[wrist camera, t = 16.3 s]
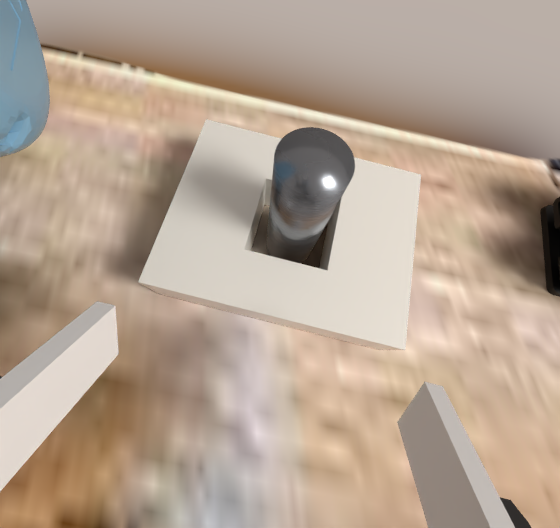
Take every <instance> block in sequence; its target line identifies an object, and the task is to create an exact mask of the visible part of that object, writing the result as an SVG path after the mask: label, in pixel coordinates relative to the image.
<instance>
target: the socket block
mask: <svg viewBox="0 0 560 528" xmlns="http://www.w3.org/2000/svg"><path fill="white" fill-rule="evenodd" d="M280 141H281V138H277V137H273V136H269V135H265V134H261V133H258V132H254V131H250V130H246V129H242V128H238V127H234V126H230V125H227V124H223V123H219V122H215V121H211V120H207V119H206V121H205V124H204V126H203V128H202V131H201V133H200V136H199V138H198V140H197V143H196V145H195V147H194V150H193V152H192V155H191V157H190V159H189V162H188V164H187V167H186V169H185V171H184V174H183V176H182V178H181V181H180V183H179V186H178V188H177V190H176V193H175V195H174V198H173V200H172V202H171V205H170V207H169V210H168V212H167V214H166V217H165V219H164V221H163V224H162V226H161V229H160V231H159V233H158V236H157V238H156V241H155V243H154V245H153V248H152V250H151V252H150V255H149V257H148V260H147V262H146V264H145V267H144V269H143V272H142V274H141V276H140V279H139V281H138V282H139V283H141V284H142V285H144V286H146V287H148V288H149V289H151V290H153V291H155V292H156V293H158V294H161V295H165V296H169V297H173V298H177V299H181V300H185V301H188V302H192V303H196V304H200V305H204V306H208V307H212V308H216V309H220V310H224V311H228V312H232V313H236V314H240V315H244V316H248V317H251V318H255V319H259V320H263V321H267V322H271V323H275V324H279V325H283V326H287V327H291V328H295V329H299V330H303V331H307V332H311V333H314V334H318V335H322V336H326V337H330V338H334V339H338V340H342V341H346V342H350V343H354V344H358V345H362V346H366V347H370V348H373V349H377V350H405V347H406V336H407V325H408V314H409V303H410V291H411V280H412V269H413V258H414V247H415V235H416V224H417V213H418V202H419V191H420V180H421V174H417V173H413V172H409V171H405V170H401V169H397V168H393V167H390V166H386V165H382V164H378V163H374V162H370V161H366V160H362V159H358V158H355V157H354V160H355V171H354V175H353V177H352V179H351V181H350V183H349V185H348V186H347V188H346V190H345V192H344V194H343V195H342V197H341V199H340V201H339V203H338V204H337V206H336V208H335V210H334V212H333V213H332V215H331V217H330V219H329V221H328V226H327V231H326V236H325V241H324V246H323V251H322V255H321V260H320V265H319V268H316V267H312V266H308V265H304V264H300V263H296V262H292V261H288V260H284V259H280V258H276V257H273V256H269V255H265V254H261V253H257V252H253V251H251V248H252V245H253V242H254V238H255V235H256V231H257V228H258V225H259V221H260V218H261V214H262V211H263V208H264V205H267V206H270V196H271V186H272V175H273V164H274V154H275V150H276V147H277V145H278V143H279V142H280Z"/></svg>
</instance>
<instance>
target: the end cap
mask: <svg viewBox="0 0 560 528" xmlns="http://www.w3.org/2000/svg"><path fill="white" fill-rule="evenodd" d="M541 223H542V235H543V248H544V260H545V272H546V284H547V290H548V291H549V292H550V293H551V294H553V295H556V296H560V197H559V198H557V199H556V200H555V201H554V203H553V206H552V205H548V206H546V207H544V208H542V209H541Z"/></svg>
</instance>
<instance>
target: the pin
mask: <svg viewBox="0 0 560 528" xmlns="http://www.w3.org/2000/svg"><path fill="white" fill-rule="evenodd" d="M354 171H355V160H354V156H353V153H352V151H351V149H350V148H349V146H348V145H347V144H346V143H345V142H344V141H343V140H342V139H341V138H340V137H339V136H337V135H336V134H334V133H332V132H330V131H327V130H324V129H320V128H313V127H311V128H301V129H297V130H294V131H292V132H290V133H288V134H287V135H286V136H284V137H283V138H282V139H281V141H280V142H279V143H278V145H277V147H276V150H275V154H274V164H273V175H272V186H271V196H270V207H269V218H268V229H267V240H266V246H267V250H268V253H269V254H270V256H273V257H276V258H280V259H284V260H288V261H292V262H296V263H302V262H303V261H305V260H306V259H307V258H308V256H309V255H310V253H311V251H312V249H313V247H314V246H315V244H316V242H317V240H318V238H319V237H320V235H321V233H322V231H323V229H324V228H325V226H326V224H327V222H328V221H329V219H330V217H331V215H332V213H333V212H334V210H335V208H336V206H337V204H338V203H339V201H340V199H341V197H342V195H343V194H344V192H345V190H346V188H347V186H348V185H349V183H350V181H351V179H352V177H353V175H354Z"/></svg>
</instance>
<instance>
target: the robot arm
mask: <svg viewBox="0 0 560 528" xmlns="http://www.w3.org/2000/svg"><path fill="white" fill-rule="evenodd" d="M49 104H50V95H49V82H48V76H47V70H46V66H45V61H44V57H43V53H42V49H41V45H40V42H39V38H38V35H37V31H36V28H35V25H34V22H33V19H32V16H31V13H30V11H29V8H28V5H27V2H26V0H0V157H2V156H6V155H10V154H13V153H16V152H18V151H21V150H23V149H25V148H26V147H28V146H29V145H31V144H32V143H33V142H34V141H35V140H36V139H37V138H38V137H39V136H40V134H41V133H42V131H43V129H44V127H45V125H46V122H47V118H48V113H49ZM118 354H119V352H118V337H117V322H116V308H115V306H114V305H110V304H106V303H102V302H98V301H97V302H96V303H94V304H93V305H92V306H91V307H89V308H88V309H87V310H86V311H84V312H83V313H82V314H81V315H79V316H78V317H77V318H76V319H74V320H73V321H72V322H71V323H69V324H68V325H67V326H66V327H64V328H63V329H62V330H61V331H59V332H58V333H57V334H56V335H54V336H53V337H52V338H51V339H49V340H48V341H47V342H46V343H44V344H43V345H42V346H41V347H39V348H38V349H37V350H36V351H34V352H33V353H32V354H31V355H29V356H28V357H27V358H26V359H24V360H23V361H22V362H21V363H19V364H18V365H17V366H16V367H14V368H13V369H12V370H11V371H9V372H8V373H7V374H6V375H4V376H3V377H0V491H1V490H2V489H3V488H4V487H5V485H6V484H7V483H8V482H9V481H10V480H11V478H12V477H13V476H14V475H15V474H16V473H17V471H18V470H19V469H20V468H21V467H22V466H23V464H24V463H25V462H26V461H27V460H28V459H29V457H30V456H31V455H32V454H33V453H34V452H35V451H36V449H37V448H38V447H39V446H40V445H41V444H42V442H43V441H44V440H45V439H46V438H47V437H48V435H49V434H50V433H51V432H52V431H53V430H54V428H55V427H56V426H57V425H58V424H59V423H60V421H61V420H62V419H63V418H64V417H65V416H66V414H67V413H68V412H69V411H70V410H71V409H72V408H73V406H74V405H75V404H76V403H77V402H78V401H79V399H80V398H81V397H82V396H83V395H84V394H85V392H86V391H87V390H88V389H89V388H90V387H91V385H92V384H93V383H94V382H95V381H96V380H97V378H98V377H99V376H100V375H101V374H102V373H103V372H104V370H105V369H106V368H107V367H108V366H109V365H110V363H111V362H112V361H113V360H114V359H115V358H116V356H117V355H118ZM397 423H398V426H399V429H400V433H401V436H402V440H403V443H404V446H405V450H406V453H407V457H408V460H409V463H410V467H411V470H412V474H413V477H414V480H415V484H416V487H417V491H418V494H419V498H420V501H421V504H422V508H423V511H424V515H425V518H426V521H427V525H428V528H531V526H530V525H529V523H528V522H527V520H526V519H525V518H524V517H523V515H522V514H521V513H520V511H519V510H518V509H517V508H516V506H515V505H514V504H513V503H512V501H511V500H508V499H504V498H500V497H499V495H498V493H497V491H496V489H495V487H494V485H493V483H492V482H491V480H490V478H489V476H488V474H487V472H486V470H485V468H484V466H483V464H482V462H481V460H480V458H479V456H478V454H477V452H476V450H475V448H474V446H473V444H472V442H471V441H470V439H469V437H468V435H467V433H466V431H465V429H464V427H463V425H462V423H461V421H460V419H459V417H458V415H457V413H456V411H455V409H454V407H453V405H452V403H451V401H450V400H449V398H448V396H447V394H446V392H445V390H444V388H443V386H440V385H436V384H432V383H428V382H424V384H423V385H422V387H421V388H420V390H419V391H418V393H417V394H416V395H415V397H414V398H413V400H412V401H411V403H410V404H409V406H408V407H407V409H406V410H405V412H404V413H403V415H402V416H401V418H400V419H399V420H398V422H397Z"/></svg>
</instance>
